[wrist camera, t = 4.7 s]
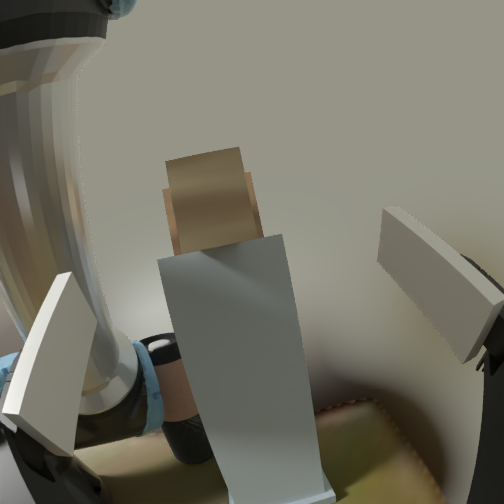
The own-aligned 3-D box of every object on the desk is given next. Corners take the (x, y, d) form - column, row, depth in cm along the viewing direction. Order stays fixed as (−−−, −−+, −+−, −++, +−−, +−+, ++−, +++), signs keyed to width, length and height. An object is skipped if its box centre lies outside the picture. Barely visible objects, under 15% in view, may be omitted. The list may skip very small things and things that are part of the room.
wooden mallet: (312, 227, 13) (282, 100, 12) (127, 265, 12) (109, 134, 12) (255, 239, 33) (244, 185, 32) (182, 254, 32) (172, 200, 32)
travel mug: (206, 432, 45) (175, 329, 45) (226, 452, 39) (192, 337, 38) (167, 447, 41) (129, 341, 41) (182, 470, 35) (138, 353, 34)
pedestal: (336, 502, 24) (297, 230, 23) (234, 526, 23) (142, 262, 22) (309, 449, 36) (270, 236, 35) (228, 467, 35) (167, 257, 34)
